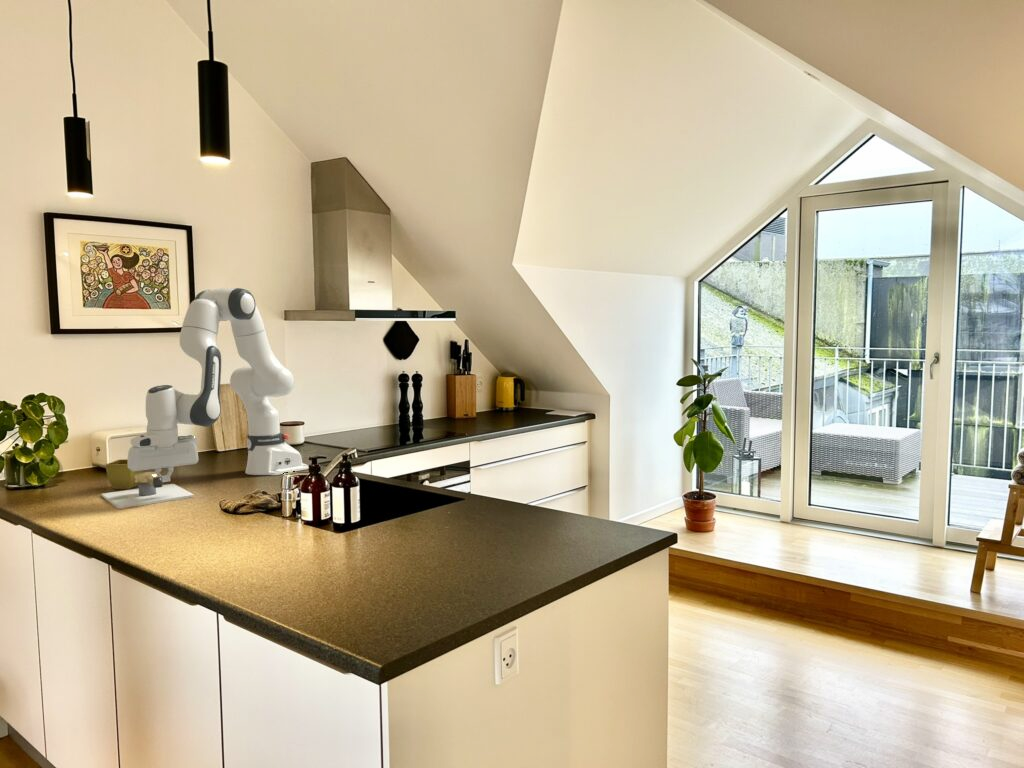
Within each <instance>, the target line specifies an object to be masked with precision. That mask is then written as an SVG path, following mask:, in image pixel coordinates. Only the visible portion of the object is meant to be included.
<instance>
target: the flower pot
mask: <svg viewBox="0 0 1024 768" xmlns="http://www.w3.org/2000/svg"><path fill="white" fill-rule="evenodd" d="M104 465H105V470H106V476H107V479H108V480H107V481H109V483H110V486H112V487H113V489H114V490H132V489H133V488H134V487H138V483H137V482H135V479H134V475H135V474H138V473H143V470H141V471H131V470H130V469H128V458H127V459H125V458H124V459H117V460H114V461H111V462H108V463H106V464H104Z"/></svg>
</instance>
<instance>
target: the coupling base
mask: <svg viewBox="0 0 1024 768" xmlns="http://www.w3.org/2000/svg"><path fill="white" fill-rule="evenodd" d="M137 487H138V488H134V489H133V488H131V489H124V490H120V491H119V490H117V491H111V492H105V493H101V497H102V498H104V499H105V500H106V501H107V502H109V503H110V504H111V505H113V506H114V507H116V508H117V510H118V509H126V508H133V507H139V506H145V505H146V506H147V505H152V504H153V505H154V504H158V503H165V502H166V503H167V502H172V500H173V501H179V500H185V498H186V499H192V498H195V494H194V493H192V492H190V491H188V490H186V489H184V488H183V487H181V486H179V485H177V484H175V483H170V484H169V483H168V484H163V487H159V488H154V487H153V486H152V485H151V484H149V483H138V485H137ZM191 497H192V498H191Z"/></svg>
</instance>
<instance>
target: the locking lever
mask: <svg viewBox="0 0 1024 768" xmlns="http://www.w3.org/2000/svg"><path fill="white" fill-rule="evenodd" d="M134 479H135V482H137V483H149V484H151V485H152V486H153V487H154V488H159V487H163V485H164V484H163V482H162V477H159V476H158V475H157V474H156V472H155V471H147V472H146V471H145V472H142V473H138V474H135V475H134Z"/></svg>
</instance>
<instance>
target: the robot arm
mask: <svg viewBox="0 0 1024 768" xmlns="http://www.w3.org/2000/svg"><path fill="white" fill-rule="evenodd" d="M193 299H194V300H192V301H191V303H190V304H189V305H188V308H187V309H186V313H185V316H184V318H183V321H182V326H181V330H180V332H179V333H180V334H179V346H180V348H181V350H182V351H183V352H184V353H185V355H187V356H188V357H190V358H192V359H194V360H195V361H196V362H198V363H199V364H200V367H201V381H200V391H199V393H198V394H189V393H188V394H187V393H183V392H181V391H178V390H176V389H175V388H174V386H173V385H169V384H162V385H156V386H154V387H151V388H149V389H148V390H147V391H146V396H145V417H146V419H147V425H146V432H145V433H142V434H140V435H137V436H135V437H133V438H131V439H130V445H131V447H130V448H129V449H128V452H127V459H128V469H130V470H131V471H141V470H142V471H145V470H146V471H148V470H149V471H150V470H154V472H156V474H157V475H158V476H159V477H162V483H165V482H167V483H168V482H171V476H172V474H173V472H174V470H175V469H174V467H182V466H189V465H196V464H197V463H198V462H199V453H198V448H197V447H198V443H199V442H198V438H197V437H196V436H193V435H192V434H189V435H179V429H178V428H179V426H178V424H181V425H182V424H183V425H195V426H200V427H204V428H206V427H207V428H208V427H211V426H213V425H214V424H215V423H216V422H217V421H218V419H219V418H220V415H221V413H222V411H221V410H222V406H221V398H220V396H221V393H220V391H221V380H222V379H221V376H222V375H221V374H222V355H221V351H220V350H219V348H218V346H217V340H218V339H217V338H218V333H219V328H220V327H219V324H220V322H228V321H229V322H230V326H231V331H232V335H233V339H234V343H235V347H236V351H237V353H238V356H239V357H240V358H241V359H242V360H244V361H245V362H247V363H248V364H249V366H243V367H240V368H236V369H235V370H234V371H233V372H232V373H231V375H230V378H229V382H230V383H229V384H230V388H231V389H232V390H233V392H234V393H235V394H237V396H238V397H239V399H240V400H241V402H242V404H243V406H244V409H245V412H246V417H247V431H248V434H247V435H246V436H247V437H246V438H247V439H246V446H247V450H248V451H247V453H248V455H247V464H246V469H245V471H244V472H245V474H246V475H249V476H250V475H251V476H278V475H284V474H283V473H284V472H290V473H293V471H295V472H301V471H306V470H308V469H309V464H306V463H304V462H303V459H302V455H301V453H300V452H299V451H298V450H297V449H296V448H294V447H292V446H291V445H290V444H288V443H287V442H286V441H287V440H289V439H290V438H291V436H290V435H289V434H287V433H282V432H281V430H280V412H279V411H278V410H277V408H275V407H274V406H273V405H272V404H271V403H270V400H269V398H279V397H284V396H287V395H289V394H290V393H291V392H292V391H293V389H294V387H295V377H294V375H293V373H292V372H291V371H290V370H289V369H288V368H286V367H285V366H284V365H283V364H282V363H281V362H280V361H279V359H277V357H276V356H275V354H274V352H273V350H272V348H271V345H270V342H269V338H268V335H267V331H266V327H265V324H264V320H263V318H262V315H261V313H260V310H259V308H258V306H257V305H256V304H257V303H256V300H255V297H254V295H253V294H252V292H251V291H249V290H247V289H245V288H241V287H240V288H239V287H236V288H232V287H222V288H218V289H217V288H215V289H205V290H202V291H200V292H198V293H197V294H196V295H195V297H194V298H193ZM285 440H286V441H285ZM164 468H166V469H167V470H168V471H167V473H166V474H165V475H162V474H161V472H162V469H164Z"/></svg>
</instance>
